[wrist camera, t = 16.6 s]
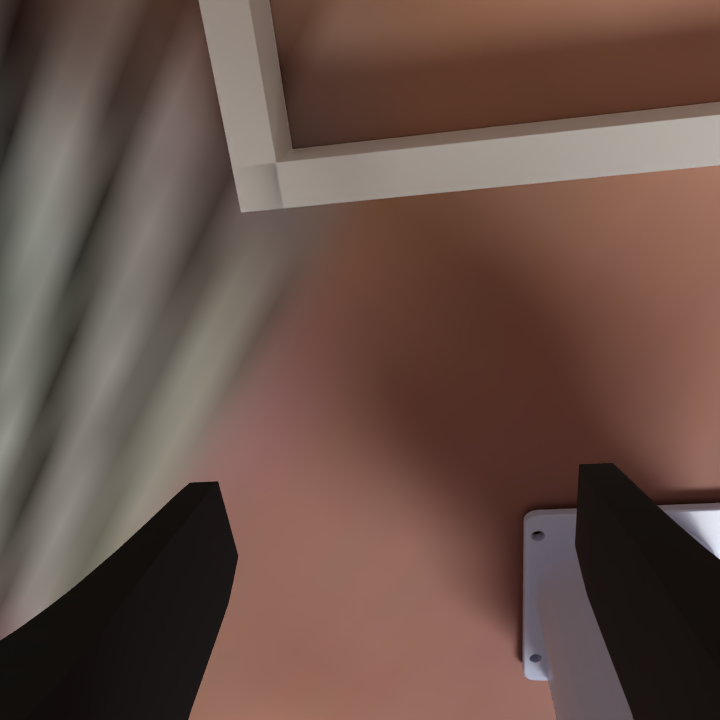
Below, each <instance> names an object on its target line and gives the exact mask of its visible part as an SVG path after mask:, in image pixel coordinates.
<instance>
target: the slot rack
mask: <svg viewBox="0 0 720 720" xmlns="http://www.w3.org/2000/svg"><path fill="white" fill-rule="evenodd" d="M199 5H200V10H201V15H202V20H203V25H204V30H205V35H206V40H207V45H208V50H209V55H210V60H211V65H212V70H213V75H214V80H215V85H216V90H217V95H218V100H219V105H220V110H221V115H222V120H223V125H224V130H225V135H226V140H227V145H228V150H229V155H230V160H231V165H232V170H233V175H234V180H235V185H236V190H237V195H238V200H239V205H240V210H241V213H243V212H253V211H263V210H273V209H283V208H293V207H303V206H313V205H323V204H333V203H343V202H353V201H363V200H373V199H383V198H393V197H403V196H413V195H424V194H434V193H444V192H454V191H464V190H474V189H484V188H494V187H504V186H514V185H524V184H534V183H544V182H554V181H564V180H574V179H584V178H594V177H604V176H614V175H624V174H634V173H644V172H655V171H665V170H675V169H685V168H695V167H705V166H715V165H720V102H712V103H703V104H694V105H685V106H676V107H667V108H658V109H649V110H640V111H631V112H622V113H613V114H604V115H595V116H586V117H577V118H568V119H559V120H550V121H541V122H532V123H523V124H514V125H505V126H496V127H487V128H478V129H469V130H460V131H451V132H442V133H433V134H424V135H415V136H406V137H397V138H388V139H379V140H370V141H361V142H352V143H343V144H334V145H325V146H316V147H307V148H298V149H292V143H291V136H290V130H289V123H288V117H287V111H286V104H285V98H284V91H283V85H282V78H281V72H280V66H279V59H278V53H277V46H276V40H275V34H274V27H273V21H272V14H271V8H270V1H269V0H199Z"/></svg>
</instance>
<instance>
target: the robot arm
mask: <svg viewBox="0 0 720 720" xmlns="http://www.w3.org/2000/svg"><path fill="white" fill-rule="evenodd" d="M536 531H542V532H541V533H539V534H532V533H534V532H536ZM237 560H238V554H237V550H236V546H235V542H234V539H233V535H232V531H231V528H230V524H229V520H228V517H227V513H226V509H225V505H224V502H223V498H222V494H221V491H220V487H219V483H218V481H217V482H195V483H189V484H188V485H187V486H186V487H184V488H183V489H182V490H181V491H180V492H179V493H178V494H177V495H176V496H174V497H173V498H172V499H171V500H170V501H169V502H168V503H167V504H166V505H165V506H164V507H163V508H162V509H161V510H160V511H159V512H158V513H156V514H155V515H154V516H153V517H152V518H151V519H150V520H149V521H148V522H147V523H146V524H145V525H144V526H143V527H142V528H141V529H139V530H138V531H137V532H136V533H135V534H134V535H133V536H132V537H131V538H130V539H129V540H128V541H127V542H125V543H124V544H123V545H122V546H121V547H120V548H119V549H118V550H117V551H116V552H115V553H113V554H112V555H111V556H110V557H109V558H108V559H106V560H105V561H104V562H103V563H102V564H101V565H99V566H98V567H97V568H96V569H95V570H94V571H92V572H91V573H90V574H89V575H88V576H86V577H85V578H84V579H83V580H82V581H81V582H79V583H78V584H77V585H76V586H75V587H74V588H72V589H71V590H70V591H69V592H67V593H66V594H65V595H63V596H62V597H61V598H60V599H58V600H57V601H56V602H54V603H53V604H52V605H50V606H49V607H48V608H46V609H45V610H44V611H42V612H41V613H40V614H38V615H37V616H35V617H34V618H33V619H31V620H30V621H29V622H27V623H26V624H24V625H23V626H22V627H20V628H19V629H17V630H16V631H14V632H13V633H11V634H10V635H8V636H7V637H5V638H4V639H2V640H1V641H0V720H188V719H189V715H190V712H191V709H192V706H193V703H194V700H195V698H196V695H197V692H198V689H199V686H200V683H201V681H202V678H203V675H204V672H205V669H206V666H207V664H208V661H209V658H210V655H211V652H212V649H213V647H214V644H215V641H216V638H217V635H218V632H219V629H220V626H221V623H222V621H223V618H224V615H225V612H226V609H227V606H228V603H229V598H230V594H231V589H232V585H233V580H234V575H235V570H236V565H237ZM522 667H523V672H524V676H525V677H526V678H528V679H530V680H548V682H549V686H550V691H551V695H552V700H553V705H554V709H555V714H556V719H557V720H720V503H703V504H677V505H656V504H655V503H654V502H653V501H652V500H651V499H650V498H649V497H648V496H647V495H646V494H645V493H644V492H643V491H642V490H640V489H639V488H638V487H637V486H636V485H635V484H634V483H633V482H632V481H631V480H630V479H629V478H628V477H627V476H626V475H625V474H624V473H623V472H622V471H621V470H620V469H618V468H617V467H616V466H615V465H614V464H613V463H603V464H581V465H579V480H578V497H577V508H574V509H548V510H534V511H531V512H529V513H527V514H526V515H525V517H524V520H523V665H522Z"/></svg>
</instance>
